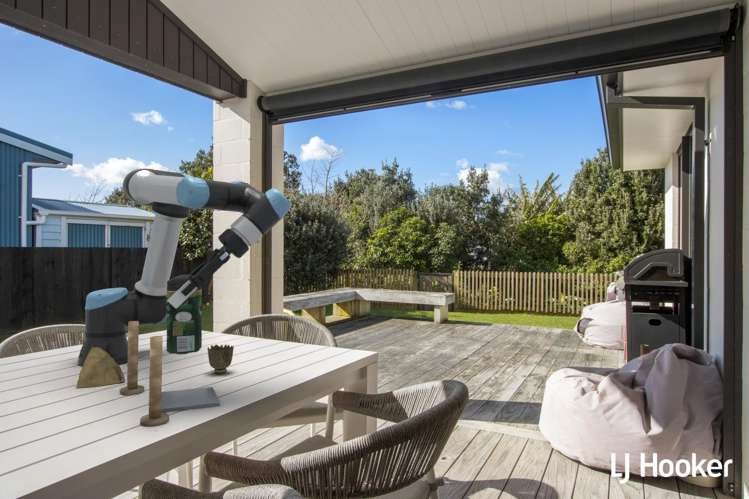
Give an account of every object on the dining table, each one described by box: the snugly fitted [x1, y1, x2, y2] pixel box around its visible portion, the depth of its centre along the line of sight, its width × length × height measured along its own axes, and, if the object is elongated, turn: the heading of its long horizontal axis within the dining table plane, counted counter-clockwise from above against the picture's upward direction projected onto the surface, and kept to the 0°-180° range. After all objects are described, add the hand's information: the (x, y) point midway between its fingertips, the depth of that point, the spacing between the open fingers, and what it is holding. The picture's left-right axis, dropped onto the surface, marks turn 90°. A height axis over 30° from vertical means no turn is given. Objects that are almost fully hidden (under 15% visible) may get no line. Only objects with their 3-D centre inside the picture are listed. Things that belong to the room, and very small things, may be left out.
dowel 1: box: [119, 321, 145, 396], centre depth 122 cm, size 6×6×18 cm
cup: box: [207, 344, 235, 375], centre depth 141 cm, size 8×7×8 cm
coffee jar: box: [165, 273, 203, 356], centre depth 115 cm, size 10×8×19 cm
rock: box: [75, 347, 126, 389], centre depth 128 cm, size 11×9×10 cm
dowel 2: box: [139, 335, 170, 428], centre depth 101 cm, size 6×6×18 cm
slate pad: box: [161, 386, 221, 413], centre depth 116 cm, size 13×14×1 cm
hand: (170, 302), depth 114 cm, fingers closed on coffee jar, 10 cm apart
